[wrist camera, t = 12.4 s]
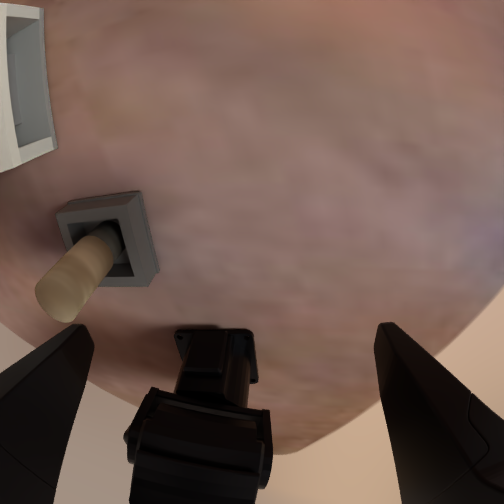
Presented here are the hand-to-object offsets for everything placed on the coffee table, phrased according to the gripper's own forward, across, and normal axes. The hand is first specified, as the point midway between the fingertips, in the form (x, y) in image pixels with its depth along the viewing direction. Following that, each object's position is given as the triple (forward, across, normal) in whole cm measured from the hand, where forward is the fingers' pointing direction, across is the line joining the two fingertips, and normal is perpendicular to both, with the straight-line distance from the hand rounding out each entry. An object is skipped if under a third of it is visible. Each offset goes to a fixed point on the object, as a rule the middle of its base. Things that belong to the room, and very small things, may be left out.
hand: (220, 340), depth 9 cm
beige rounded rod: (+12, +10, +2) cm, 15 cm away
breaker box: (+12, +18, -10) cm, 24 cm away
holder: (+12, +10, +2) cm, 16 cm away
